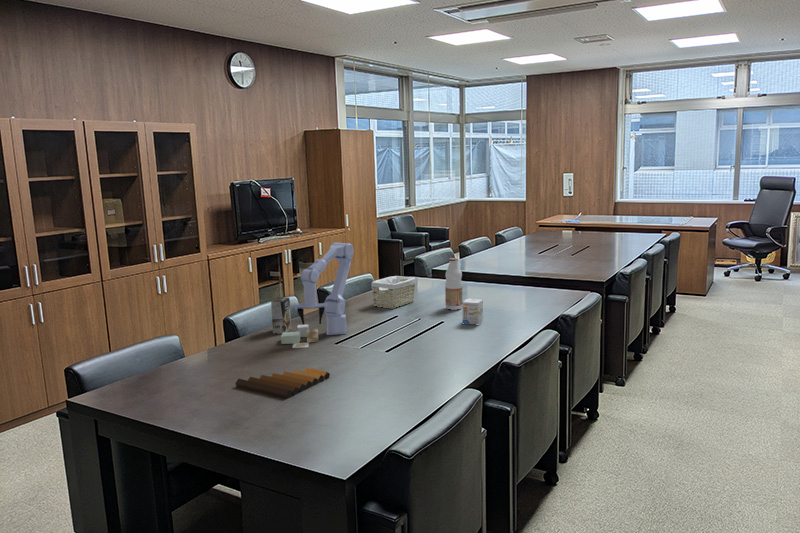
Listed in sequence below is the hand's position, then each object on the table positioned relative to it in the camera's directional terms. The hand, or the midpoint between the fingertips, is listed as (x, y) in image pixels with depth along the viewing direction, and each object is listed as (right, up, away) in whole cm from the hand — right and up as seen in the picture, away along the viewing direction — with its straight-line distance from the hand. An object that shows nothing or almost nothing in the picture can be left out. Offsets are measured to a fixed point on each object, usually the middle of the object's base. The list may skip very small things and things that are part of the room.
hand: (311, 323), depth 286 cm
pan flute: (-3, -18, -52) cm, 55 cm away
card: (-4, -9, -6) cm, 12 cm away
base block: (-10, -8, +1) cm, 13 cm away
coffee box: (-17, -6, +19) cm, 26 cm away
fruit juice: (+71, +3, +56) cm, 91 cm away
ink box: (+77, -2, +25) cm, 82 cm away
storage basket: (+38, +4, +70) cm, 79 cm away
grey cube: (-6, -7, +10) cm, 13 cm away
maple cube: (0, -8, +1) cm, 8 cm away
